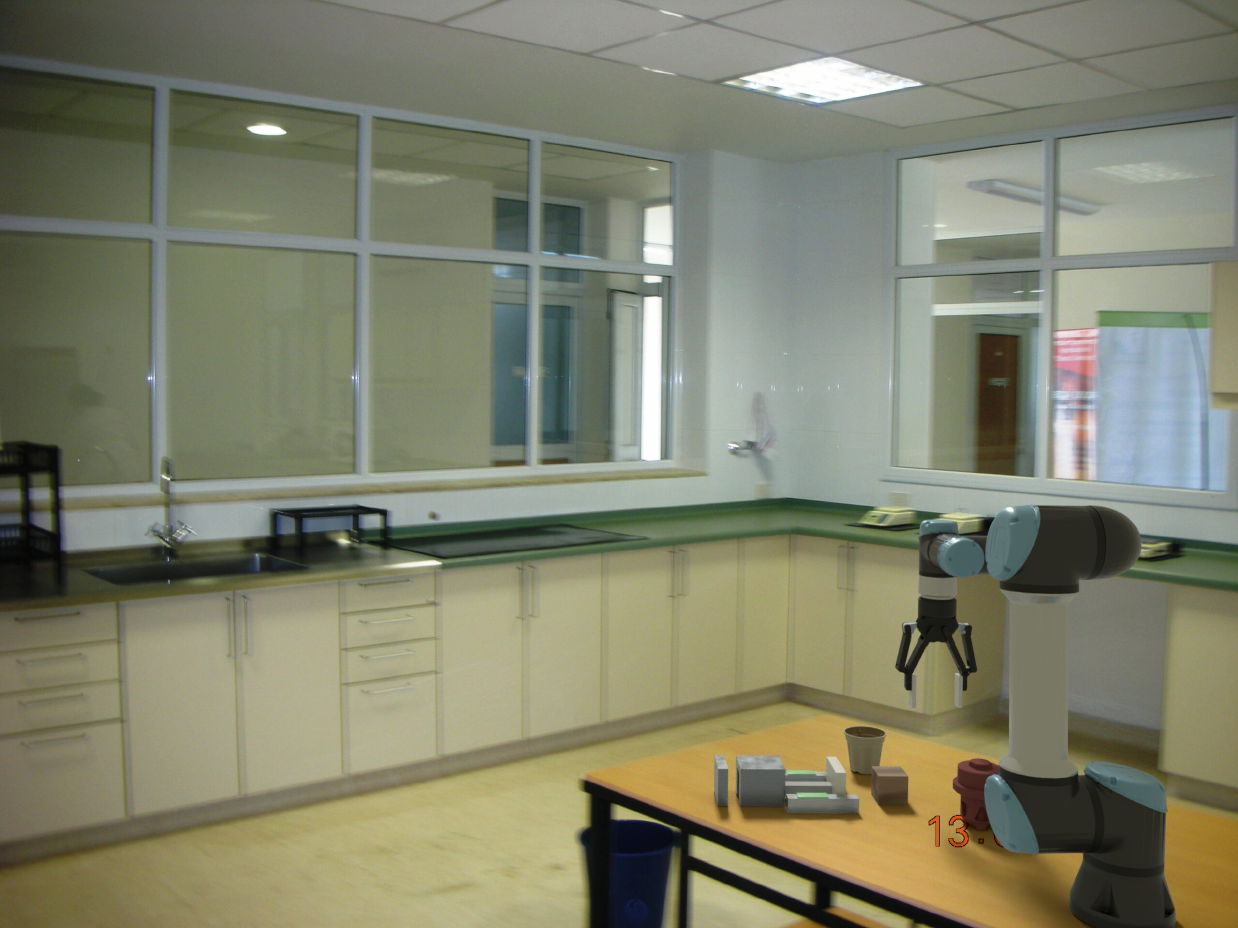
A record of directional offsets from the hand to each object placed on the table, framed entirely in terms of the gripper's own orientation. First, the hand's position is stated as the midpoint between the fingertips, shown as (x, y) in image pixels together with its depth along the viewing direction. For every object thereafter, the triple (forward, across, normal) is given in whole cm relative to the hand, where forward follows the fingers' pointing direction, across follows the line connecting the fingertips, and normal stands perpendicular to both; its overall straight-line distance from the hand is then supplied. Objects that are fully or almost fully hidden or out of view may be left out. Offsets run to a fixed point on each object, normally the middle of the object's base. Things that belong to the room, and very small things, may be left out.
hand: (935, 705), depth 217 cm
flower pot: (+20, +10, -18) cm, 28 cm away
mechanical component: (+20, -5, +13) cm, 24 cm away
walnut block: (+19, +9, 0) cm, 21 cm away
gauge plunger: (+19, +26, 0) cm, 32 cm away
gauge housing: (+19, +31, 0) cm, 36 cm away
